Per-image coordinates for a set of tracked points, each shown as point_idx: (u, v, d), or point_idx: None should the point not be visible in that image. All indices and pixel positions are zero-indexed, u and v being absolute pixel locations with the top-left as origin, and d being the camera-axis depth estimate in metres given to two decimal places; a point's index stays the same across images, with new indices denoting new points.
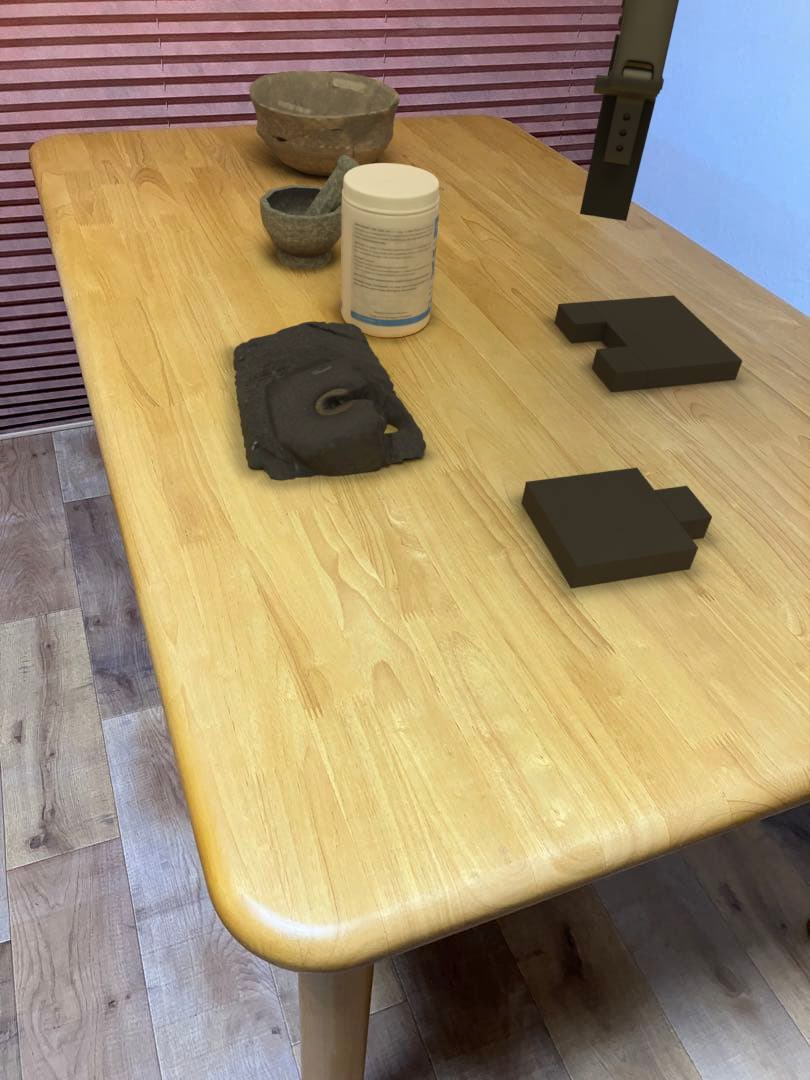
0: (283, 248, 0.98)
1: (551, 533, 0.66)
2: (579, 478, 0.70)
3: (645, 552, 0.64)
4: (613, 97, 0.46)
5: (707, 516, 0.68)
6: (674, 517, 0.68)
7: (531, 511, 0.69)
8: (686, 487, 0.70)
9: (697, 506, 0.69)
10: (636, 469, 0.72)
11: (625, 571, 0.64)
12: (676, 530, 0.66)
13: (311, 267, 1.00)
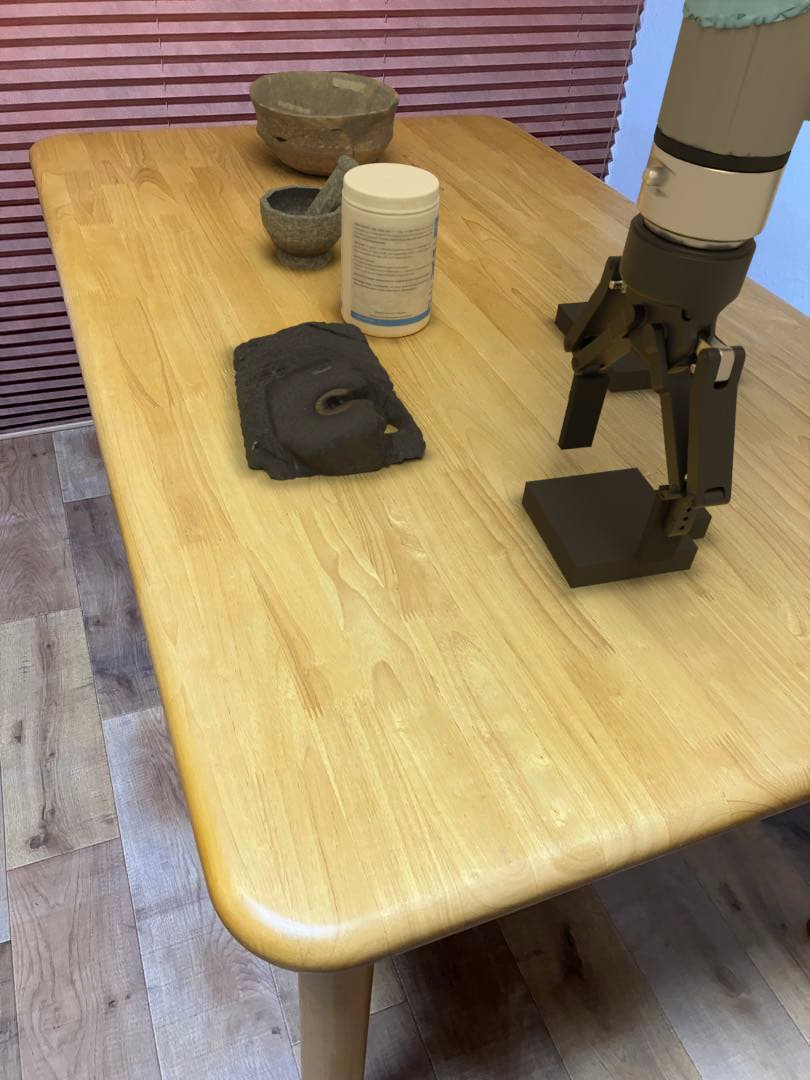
0: (283, 248, 0.98)
1: (551, 533, 0.66)
2: (579, 478, 0.70)
3: None
4: None
5: (707, 516, 0.68)
6: None
7: (531, 511, 0.69)
8: None
9: None
10: (636, 469, 0.72)
11: (625, 571, 0.64)
12: None
13: (311, 267, 1.00)
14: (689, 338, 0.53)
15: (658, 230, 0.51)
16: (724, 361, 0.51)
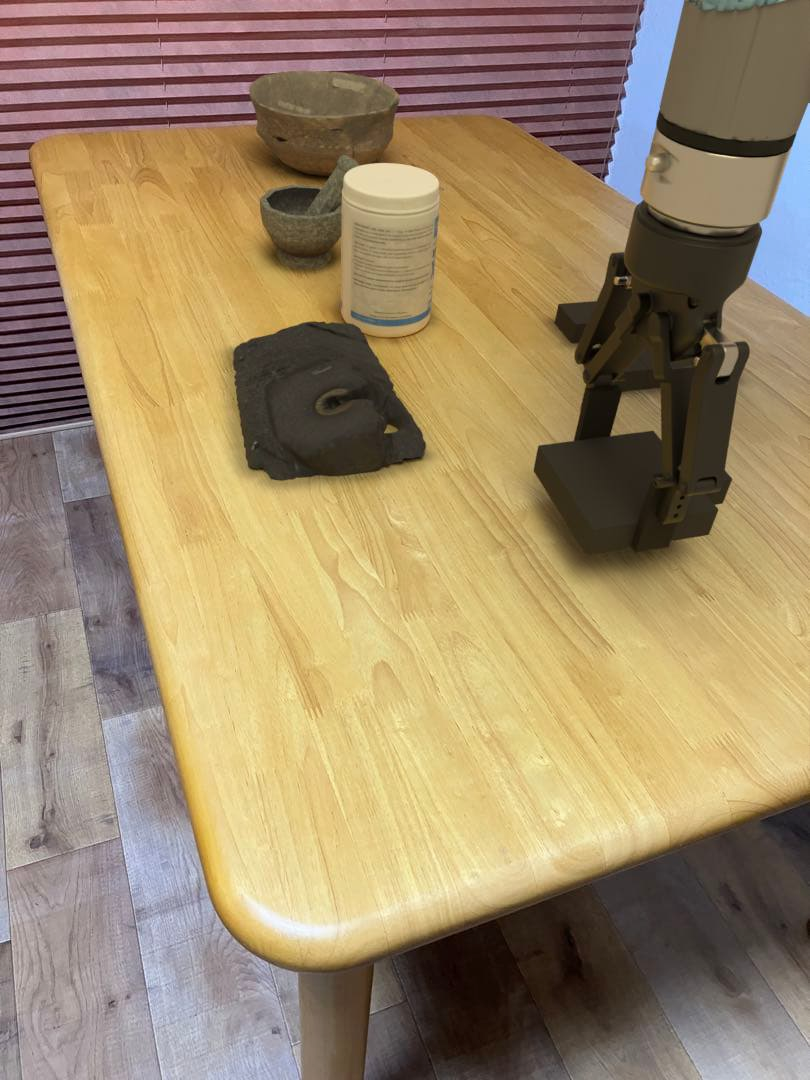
0: (283, 248, 0.98)
1: (565, 496, 0.64)
2: (593, 441, 0.68)
3: None
4: None
5: (727, 478, 0.66)
6: None
7: (544, 476, 0.67)
8: None
9: None
10: (652, 432, 0.69)
11: None
12: None
13: (311, 267, 1.00)
14: (695, 326, 0.52)
15: (662, 217, 0.50)
16: (727, 359, 0.51)
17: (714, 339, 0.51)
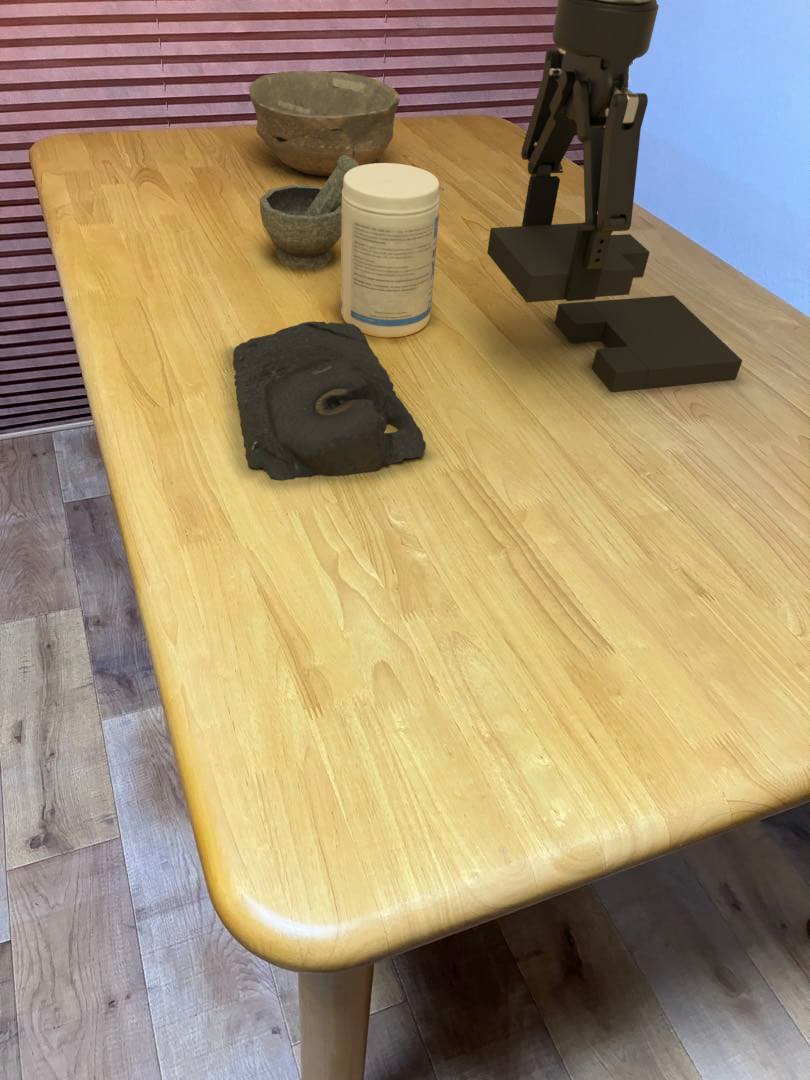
0: (283, 248, 0.98)
1: (511, 260, 0.78)
2: (536, 227, 0.82)
3: None
4: None
5: (645, 251, 0.79)
6: (617, 252, 0.79)
7: (495, 252, 0.81)
8: (629, 234, 0.82)
9: (637, 245, 0.80)
10: None
11: None
12: (617, 258, 0.78)
13: (311, 267, 1.00)
14: (606, 84, 0.66)
15: None
16: (630, 105, 0.65)
17: (620, 91, 0.65)
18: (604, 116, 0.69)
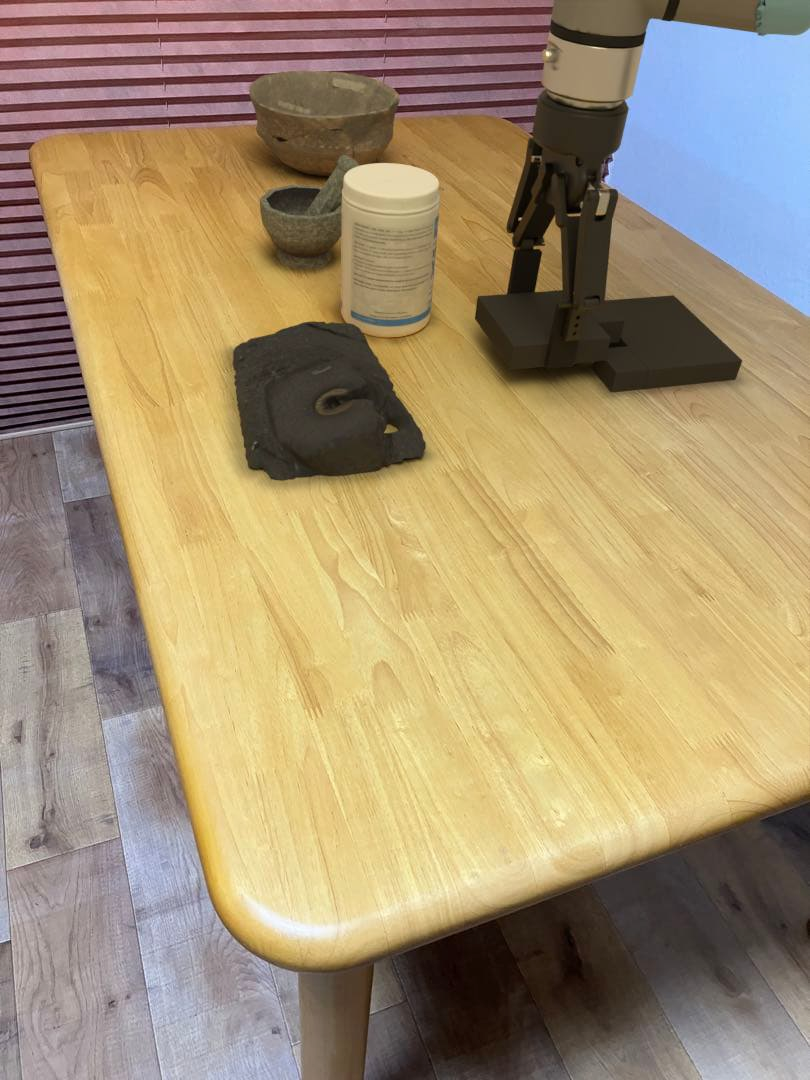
0: (283, 248, 0.98)
1: (496, 328, 0.84)
2: (520, 295, 0.88)
3: None
4: None
5: (621, 320, 0.86)
6: (594, 320, 0.85)
7: (482, 319, 0.87)
8: (606, 302, 0.88)
9: (614, 313, 0.86)
10: None
11: None
12: (594, 327, 0.84)
13: (311, 267, 1.00)
14: (581, 179, 0.72)
15: (555, 97, 0.70)
16: (602, 200, 0.71)
17: (593, 187, 0.71)
18: (580, 205, 0.75)
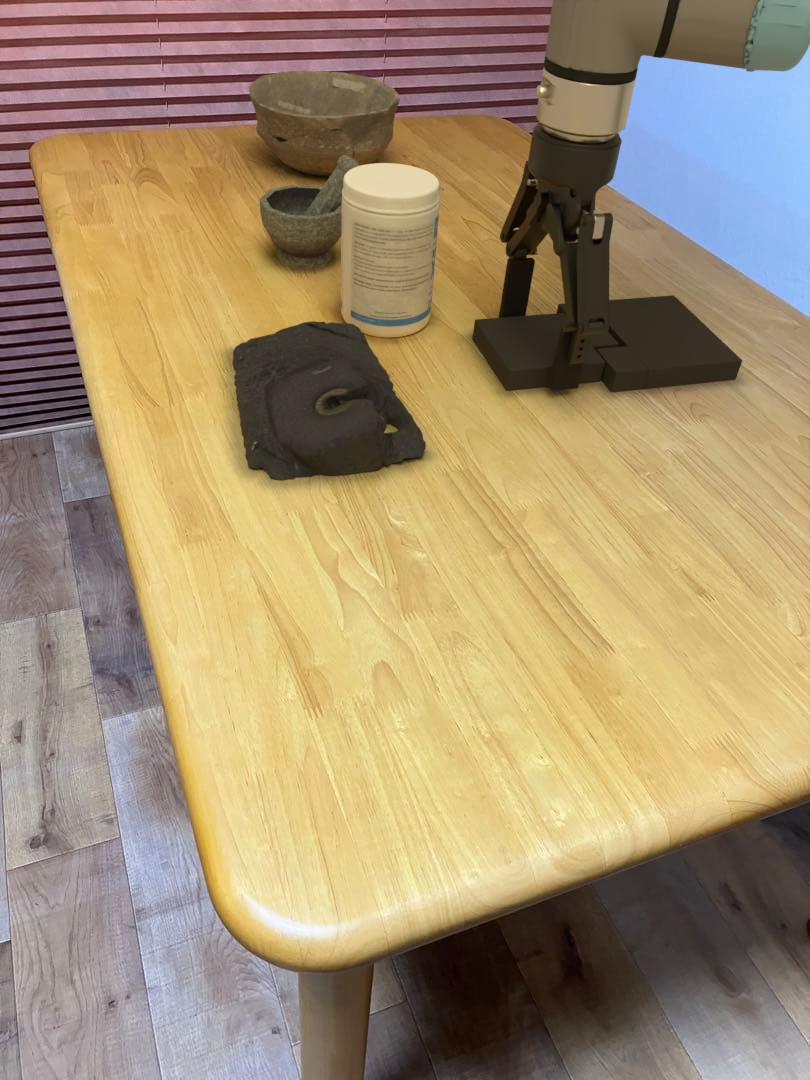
0: (283, 248, 0.98)
1: (492, 352, 0.85)
2: (517, 318, 0.90)
3: None
4: None
5: (615, 343, 0.87)
6: (589, 344, 0.87)
7: (479, 342, 0.89)
8: None
9: (608, 337, 0.88)
10: (563, 314, 0.91)
11: (548, 378, 0.84)
12: (589, 351, 0.86)
13: (311, 267, 1.00)
14: (575, 210, 0.74)
15: (549, 131, 0.72)
16: (597, 223, 0.72)
17: (588, 213, 0.73)
18: (574, 234, 0.77)
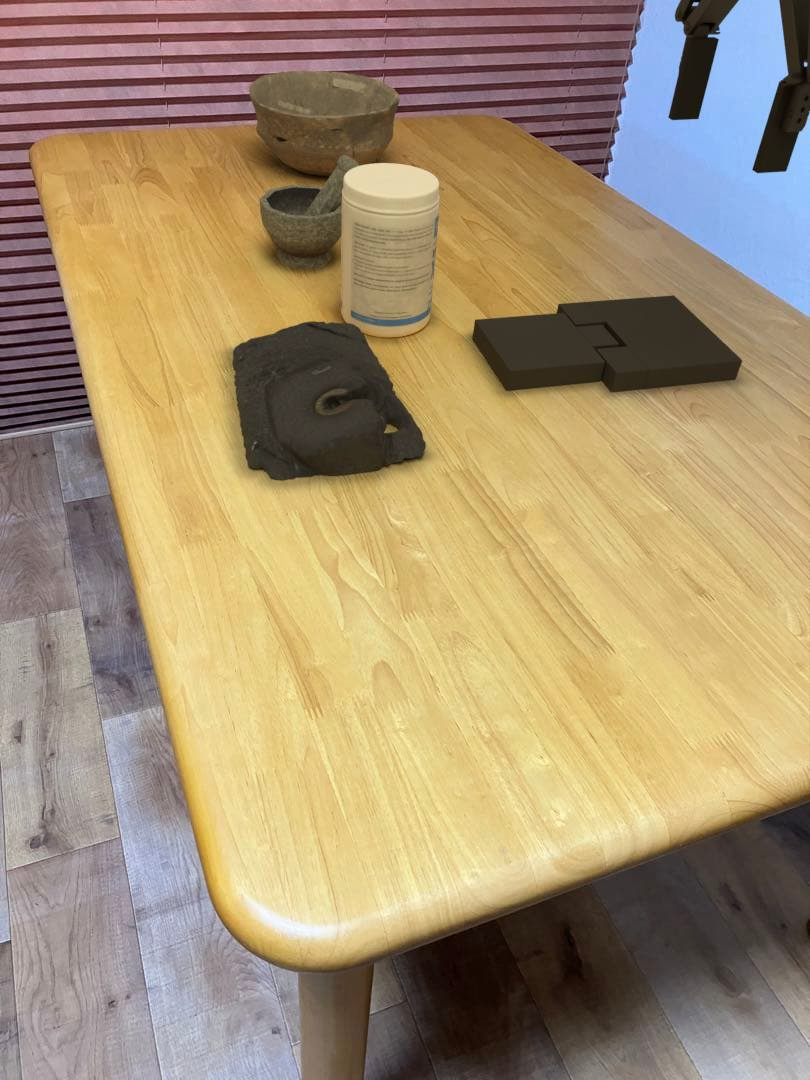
0: (283, 248, 0.98)
1: (492, 352, 0.85)
2: (517, 318, 0.90)
3: (563, 363, 0.84)
4: (789, 86, 0.65)
5: (615, 343, 0.87)
6: (589, 344, 0.87)
7: (479, 342, 0.89)
8: (601, 325, 0.90)
9: (608, 337, 0.88)
10: (563, 314, 0.91)
11: (548, 378, 0.84)
12: (589, 351, 0.86)
13: (311, 267, 1.00)
14: None
15: None
16: None
17: None
18: None
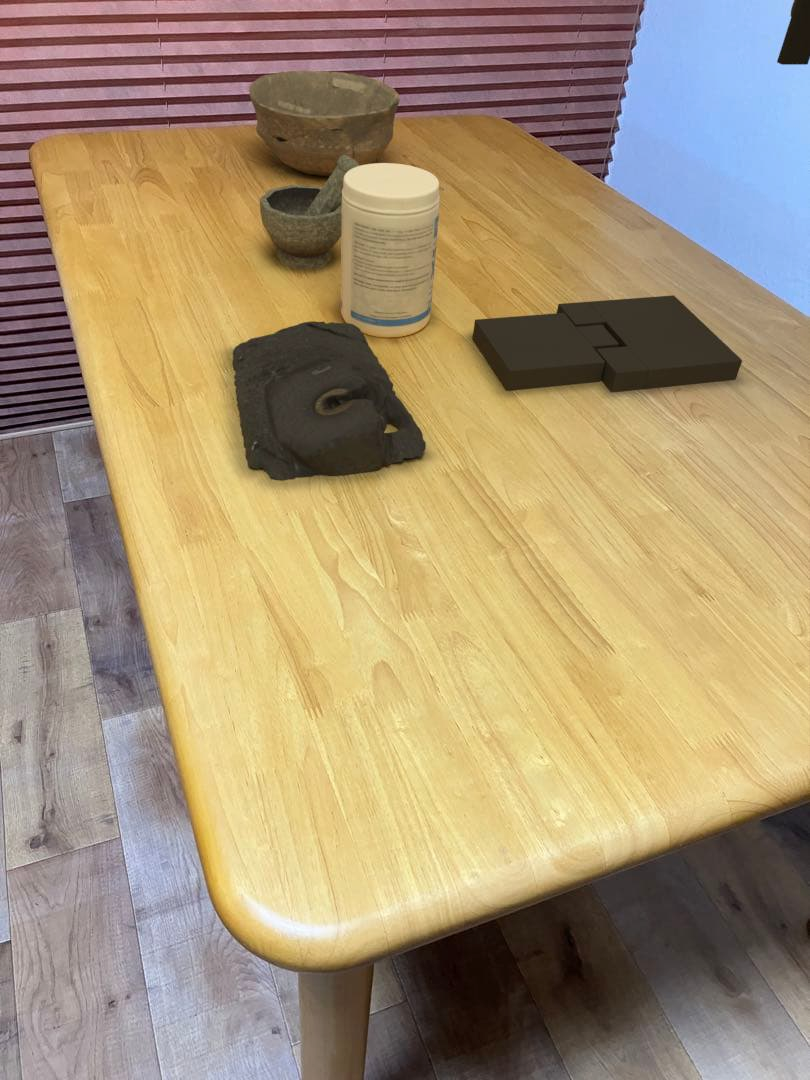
0: (283, 248, 0.98)
1: (492, 352, 0.85)
2: (517, 318, 0.90)
3: (563, 363, 0.84)
4: None
5: (615, 343, 0.87)
6: (589, 344, 0.87)
7: (479, 342, 0.89)
8: (601, 325, 0.90)
9: (608, 337, 0.88)
10: (563, 314, 0.91)
11: (548, 378, 0.84)
12: (589, 351, 0.86)
13: (311, 267, 1.00)
14: None
15: None
16: None
17: None
18: None
